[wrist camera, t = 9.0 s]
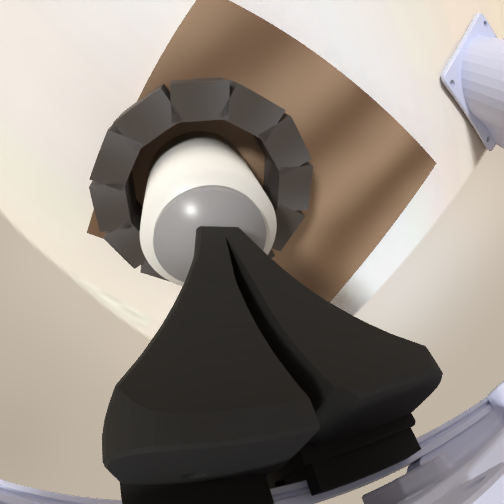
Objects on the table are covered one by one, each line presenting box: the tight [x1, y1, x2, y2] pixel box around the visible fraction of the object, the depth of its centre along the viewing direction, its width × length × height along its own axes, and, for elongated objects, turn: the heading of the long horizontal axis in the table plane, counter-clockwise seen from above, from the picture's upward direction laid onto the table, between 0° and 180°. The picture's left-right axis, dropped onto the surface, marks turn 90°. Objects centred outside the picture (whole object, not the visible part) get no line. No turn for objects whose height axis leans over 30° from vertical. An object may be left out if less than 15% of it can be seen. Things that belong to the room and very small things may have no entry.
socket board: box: [87, 0, 436, 302], centre depth 16 cm, size 18×14×4 cm
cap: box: [140, 131, 277, 286], centre depth 13 cm, size 5×5×6 cm
